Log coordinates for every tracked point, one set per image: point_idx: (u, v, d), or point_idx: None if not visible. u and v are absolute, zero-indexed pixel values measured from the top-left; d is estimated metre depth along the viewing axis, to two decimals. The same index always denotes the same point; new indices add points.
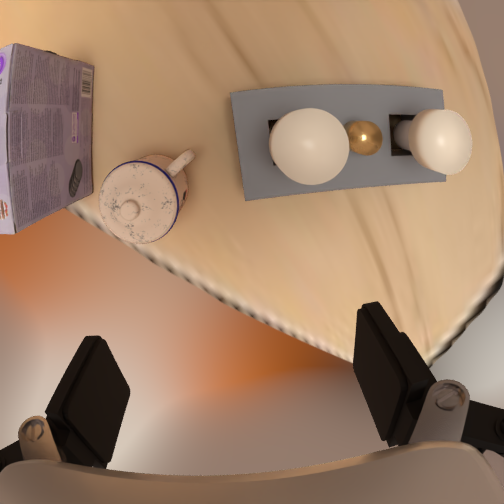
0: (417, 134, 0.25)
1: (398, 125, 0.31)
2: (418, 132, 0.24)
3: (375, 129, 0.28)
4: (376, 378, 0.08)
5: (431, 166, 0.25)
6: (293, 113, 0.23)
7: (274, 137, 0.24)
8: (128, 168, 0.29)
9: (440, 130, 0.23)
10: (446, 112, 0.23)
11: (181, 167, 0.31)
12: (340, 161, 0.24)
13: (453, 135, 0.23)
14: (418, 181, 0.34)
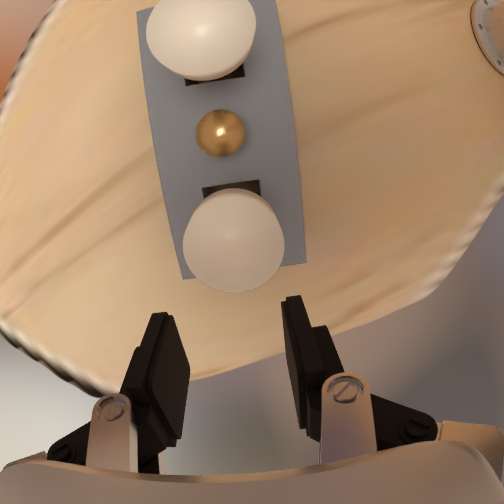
0: (236, 193, 0.20)
1: None
2: (238, 194, 0.19)
3: (235, 145, 0.22)
4: (291, 367, 0.09)
5: (190, 220, 0.19)
6: (246, 1, 0.14)
7: None
8: None
9: (249, 228, 0.19)
10: (279, 238, 0.19)
11: None
12: (180, 64, 0.15)
13: (246, 253, 0.20)
14: (174, 235, 0.28)
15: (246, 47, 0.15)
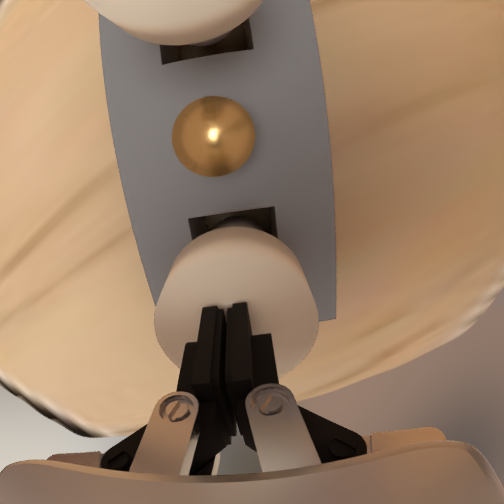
0: (240, 241, 0.12)
1: (253, 224, 0.19)
2: (244, 244, 0.11)
3: (237, 156, 0.13)
4: None
5: (164, 287, 0.11)
6: None
7: None
8: None
9: (263, 304, 0.11)
10: (311, 317, 0.12)
11: None
12: (130, 7, 0.06)
13: None
14: (151, 284, 0.19)
15: None
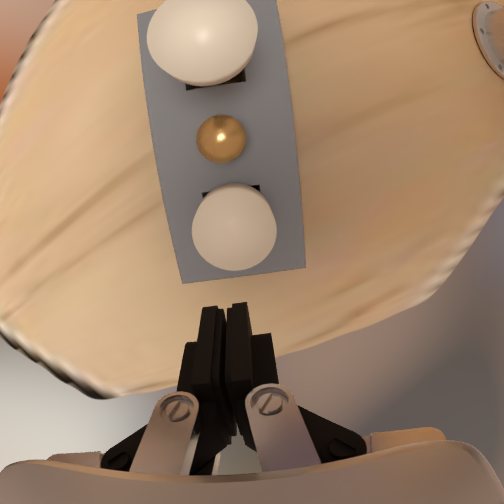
0: (236, 187, 0.23)
1: None
2: (238, 187, 0.23)
3: (235, 150, 0.22)
4: None
5: (198, 208, 0.23)
6: (248, 6, 0.14)
7: None
8: None
9: (247, 216, 0.23)
10: (272, 224, 0.23)
11: None
12: (181, 70, 0.15)
13: (244, 236, 0.24)
14: (174, 239, 0.28)
15: (248, 53, 0.15)
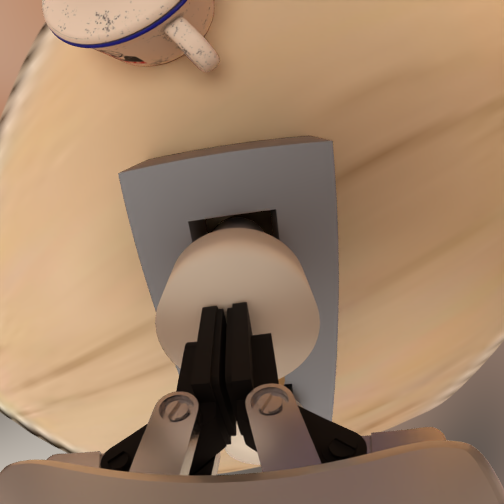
0: None
1: None
2: None
3: None
4: None
5: None
6: (309, 297, 0.11)
7: (254, 261, 0.11)
8: None
9: None
10: None
11: (182, 45, 0.13)
12: None
13: None
14: None
15: (302, 360, 0.12)
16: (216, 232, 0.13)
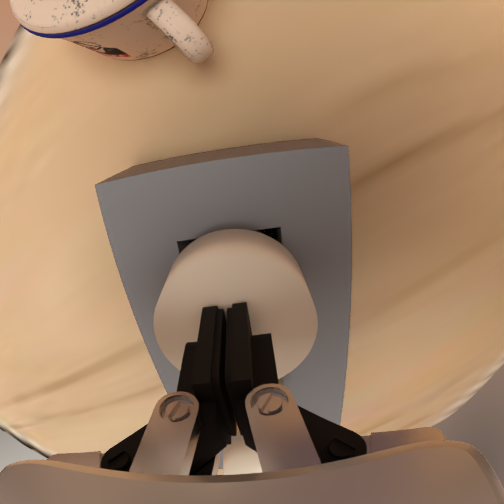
0: None
1: None
2: None
3: None
4: None
5: (229, 466, 0.17)
6: (307, 297, 0.11)
7: (252, 261, 0.11)
8: None
9: None
10: None
11: (167, 30, 0.10)
12: None
13: None
14: None
15: (300, 361, 0.13)
16: (214, 233, 0.13)
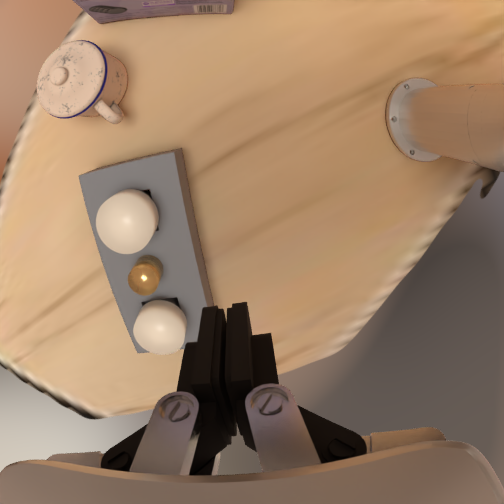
0: (157, 307, 0.36)
1: None
2: (158, 308, 0.35)
3: (152, 288, 0.34)
4: None
5: None
6: (146, 209, 0.30)
7: (125, 195, 0.29)
8: (98, 66, 0.24)
9: (164, 326, 0.35)
10: (180, 331, 0.36)
11: (101, 114, 0.28)
12: (117, 248, 0.31)
13: (165, 337, 0.36)
14: (128, 328, 0.40)
15: (149, 238, 0.31)
16: (120, 191, 0.31)
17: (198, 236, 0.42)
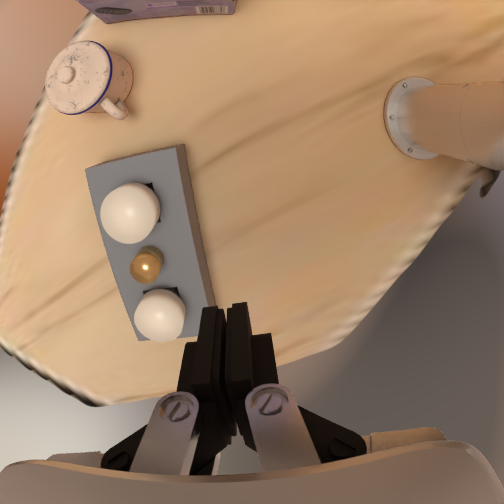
0: (158, 295, 0.37)
1: None
2: (158, 296, 0.37)
3: (153, 277, 0.36)
4: None
5: None
6: (147, 201, 0.31)
7: (128, 188, 0.31)
8: (104, 66, 0.26)
9: (164, 314, 0.37)
10: (179, 319, 0.37)
11: (107, 111, 0.30)
12: (120, 238, 0.33)
13: (164, 325, 0.38)
14: (130, 316, 0.42)
15: (150, 229, 0.33)
16: (124, 184, 0.33)
17: (199, 228, 0.43)
